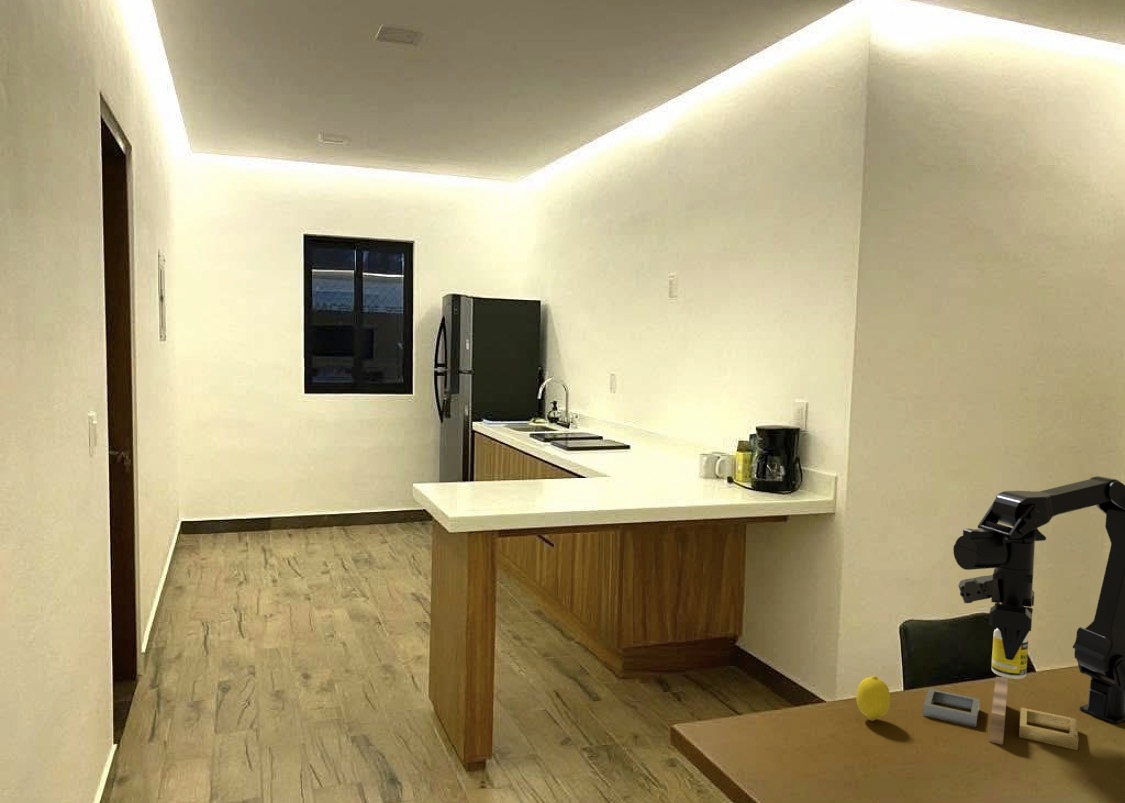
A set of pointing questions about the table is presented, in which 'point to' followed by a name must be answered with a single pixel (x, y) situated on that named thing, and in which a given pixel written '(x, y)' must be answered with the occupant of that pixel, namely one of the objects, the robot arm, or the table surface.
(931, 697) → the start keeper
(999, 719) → the brown wooden bar
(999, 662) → the supplement bottle
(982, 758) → the table surface
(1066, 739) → the frame
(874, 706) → the lemon
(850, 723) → the table surface
